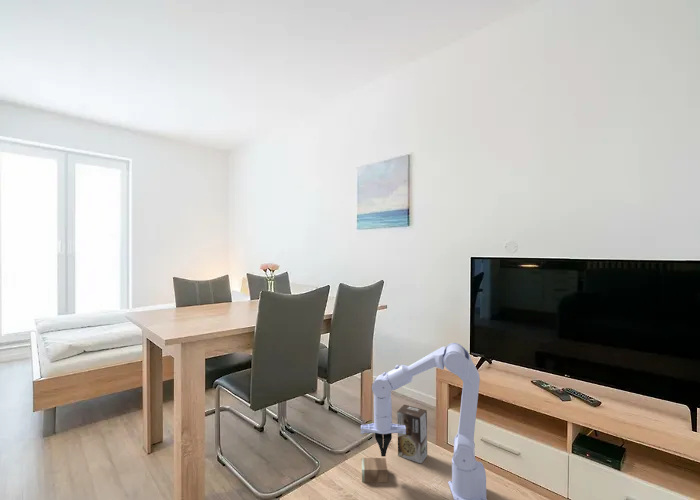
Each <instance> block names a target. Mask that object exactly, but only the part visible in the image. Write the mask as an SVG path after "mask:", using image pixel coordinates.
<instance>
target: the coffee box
mask: <svg viewBox="0 0 700 500" xmlns="http://www.w3.org/2000/svg"><path fill="white" fill-rule="evenodd" d="M427 415H428V410H427V409H423V408H421V407H416V406H412V405H409V404H403V405H402V406H401V407H400V408H399V409H398V410H397V411H396V419H397V420H396V422H397V424H398V425H405V427H406V434H402V433H397V456H398V457H400V458H401V457H402V458H404V459H407V460H410V461H413V462H415V463H418V464H422V463H423V462H424V461H425V459H426V458H427V457H428V418H427V417H428V416H427Z"/></svg>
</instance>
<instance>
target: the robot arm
mask: <svg viewBox="0 0 700 500" xmlns="http://www.w3.org/2000/svg"><path fill="white" fill-rule="evenodd" d="M432 368H437V369H440V370H442V371H443V370H445V369H447V371H449V372H450V373H452V374H454V375H456V376H457V377H459V379H461V381H462V389H461V391H462V392H461V399H460V411H459V418H458V419H459V420H458V428H457V433H456V435H455V437H454V438H453V453H452V454H453V456H452V457H451V480H449V481H448V482H447V484H448V487H449V489H450V492H451V494H452V498H453V500H488V499H487V475H486V469H485V466H484V464H483V463H482V462H481V461H478V460H477V459H476V454H475V452H476V451H475V448H476V446H475V445H476V444H475V430H476V419H477V410H478V400H479V391H480V381H481V380H480V372H479V371H478V369H477V367H476V365H475V363H474V361H473V359H472V356H471V355H470V353H469V351H468V350H467V349H466V348H465V347H464V346H463V345H461V344H460V343H457V342H451V343H449V344H447V345H446V346H445V345H444V346H441V347H439V348H438V349H436V350H434V351H432V352H430V353H429V354H427V355H426V356H424V357H421V358H420V359H418V360H417V361H415V362H413V363H412V364H410V365H406V364H401V365H400V364H396V365H395V366H394V368H393V369H391V370H389V371H387V372H386V371H384V372H382V374H379V375H377V377H376V378H375V380H374V381H373V383H372V385H371V391H372V393H373V397H374V398H373V420H374V421H373V422H372V423H367V424H361V425H360V435H363V434H374V438H375V441H376V443H377V445H378V447H379V450H380V455H381V457H382V458H386V456H387V451H388V448H389V445H390V443H391V442H392V439H393V437H392V434H398V433H402V434H406V427H405V425H398V424H396V423H392V422H393V417H392V416H393V415H392V414H393V413H392V411H393V410H392V408H393V406H392V405H393V404H392V403H393V402H392V401H393V400H392V391H396V390H397V389H400V388H402V387H404V386H406V385H408V384H411V383H412V382H413V377H414V376H417V375H419V374H421V373H424V372H425V371H428V370H430V369H432Z"/></svg>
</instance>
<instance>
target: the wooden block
mask: <svg viewBox="0 0 700 500" xmlns="http://www.w3.org/2000/svg"><path fill="white" fill-rule="evenodd" d="M361 482H362V483H388V465H387V458H386V457H362V458H361Z"/></svg>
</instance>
